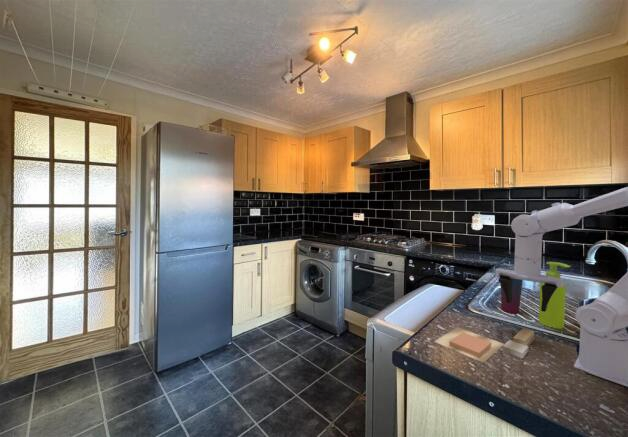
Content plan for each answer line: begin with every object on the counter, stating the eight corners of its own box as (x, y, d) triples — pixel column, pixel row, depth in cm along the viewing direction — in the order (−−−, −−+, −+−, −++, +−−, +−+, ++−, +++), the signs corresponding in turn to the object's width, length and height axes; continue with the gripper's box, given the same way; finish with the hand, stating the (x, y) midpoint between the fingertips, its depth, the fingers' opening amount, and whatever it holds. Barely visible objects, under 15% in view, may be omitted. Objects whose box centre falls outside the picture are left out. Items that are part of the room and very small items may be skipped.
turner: (537, 343, 70) (538, 332, 70) (522, 361, 62) (522, 349, 62) (519, 337, 73) (520, 326, 73) (502, 353, 65) (502, 342, 65)
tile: (491, 342, 67) (478, 352, 62) (491, 347, 67) (478, 357, 62) (462, 332, 72) (449, 341, 68) (462, 336, 73) (449, 345, 68)
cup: (527, 314, 89) (528, 272, 88) (507, 314, 89) (508, 271, 88) (512, 307, 96) (513, 267, 95) (494, 307, 96) (495, 267, 95)
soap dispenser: (559, 331, 77) (562, 265, 76) (534, 321, 83) (536, 260, 83) (572, 329, 78) (575, 264, 78) (547, 319, 85) (549, 259, 84)
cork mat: (504, 345, 69) (504, 343, 69) (483, 364, 60) (483, 362, 60) (457, 328, 78) (457, 327, 78) (433, 343, 70) (433, 341, 70)
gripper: (492, 255, 74) (490, 301, 75) (560, 264, 63) (558, 318, 64) (500, 253, 79) (498, 296, 79) (565, 261, 67) (563, 311, 68)
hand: (525, 306), depth 72 cm, fingers open, 7 cm apart
